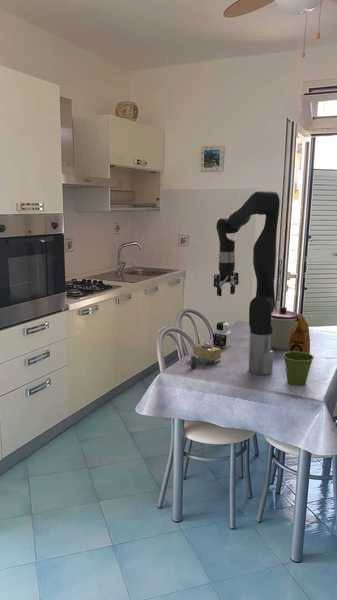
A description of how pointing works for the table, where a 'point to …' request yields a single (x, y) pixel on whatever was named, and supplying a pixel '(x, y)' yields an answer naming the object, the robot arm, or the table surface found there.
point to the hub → (205, 361)
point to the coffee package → (299, 336)
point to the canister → (282, 327)
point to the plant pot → (297, 367)
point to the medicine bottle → (222, 335)
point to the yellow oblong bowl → (207, 352)
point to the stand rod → (193, 362)
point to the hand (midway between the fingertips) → (225, 294)
